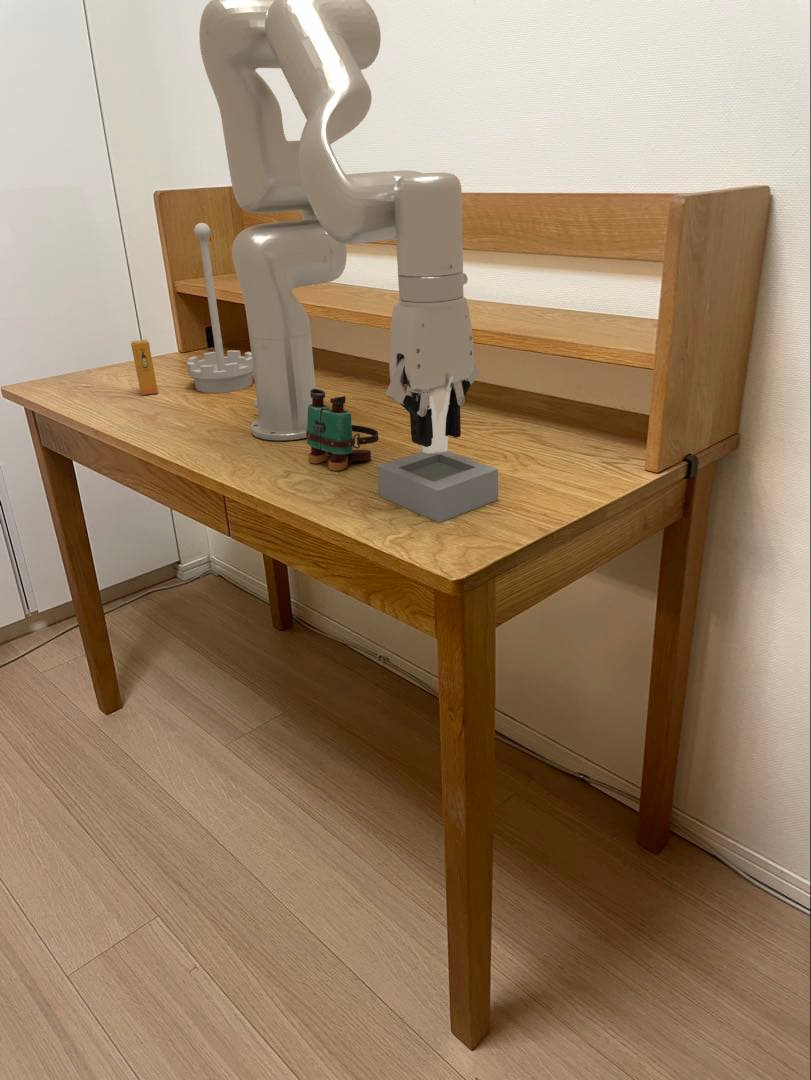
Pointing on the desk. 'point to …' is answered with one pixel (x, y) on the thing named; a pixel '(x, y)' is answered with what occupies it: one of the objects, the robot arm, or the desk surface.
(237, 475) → the desk surface
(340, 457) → the binoculars
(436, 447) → the milkshake
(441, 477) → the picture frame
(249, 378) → the flag stand
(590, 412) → the desk surface
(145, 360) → the supplement box
